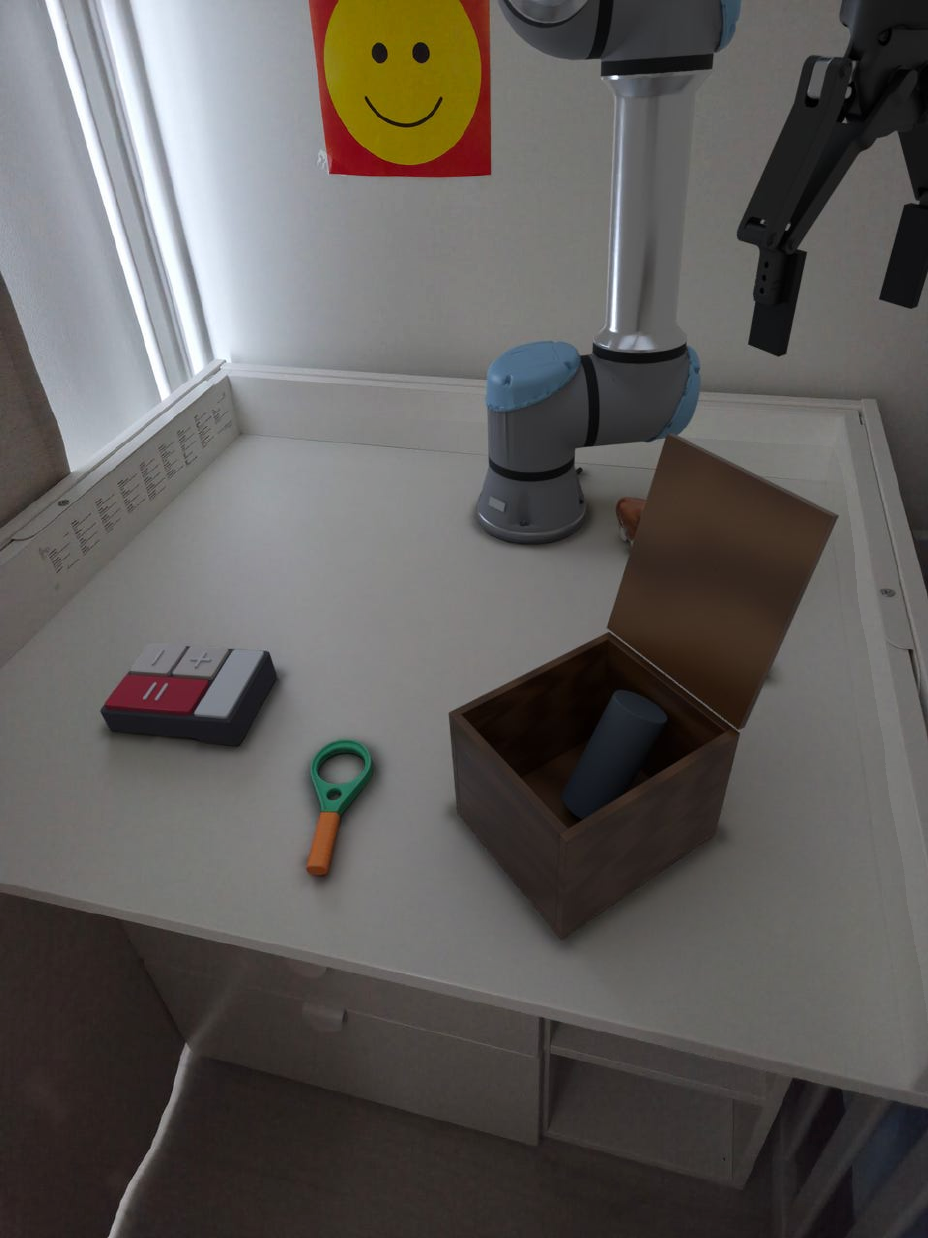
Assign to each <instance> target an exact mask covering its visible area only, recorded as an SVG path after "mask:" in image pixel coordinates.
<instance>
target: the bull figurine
mask: <svg viewBox="0 0 928 1238" xmlns="http://www.w3.org/2000/svg"><path fill="white" fill-rule="evenodd" d="M645 502H646V499H643V498H638V497H629V496H624V497H621V498H620V499H618V501H617V502H616V505H615V516H616V520H617V523H618V528H619V535H620V538H621V539H622V541H624V542H626V541H628V542H630V546H631V548H632V544H633V541H634V538H635V535H636V531H637V528H638V525H639V522H640V519H641V515H642V512H643V509H644V506H645Z"/></svg>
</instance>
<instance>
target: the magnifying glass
mask: <svg viewBox="0 0 928 1238" xmlns="http://www.w3.org/2000/svg"><path fill="white" fill-rule="evenodd" d="M343 753H350V754H355V755H357V756H359V757H361V758H362V759H363V761H364V769H363V771H362V772H361V773H360V775H358V776H357V777H356V778H355V779H353V780H351V781H348V782H345V783H330V782H327V781H325V780H323V779H322V778H321V777H320V775H319V770H320V767H321V765H322V764H323V763H324V762H325V761H326V760H327V759H329V758H330V757H332V756H334V755H337V754H343ZM373 771H374V763H373V759H372V756H371V753H370V751H369V749H368V748H367V746H365V744H363V743H362V742H360V741H358V740H355V739H351V738H350V739H349V738H343V739H337V740H333V741H331V742H328V743H327V744H325V745H323V746H322V747H321V748H320V749H319V750H318V751H317V752H316V754H314V756H313V758H312V759H311V763H310V767H309V774H310V778H311V781H312V785H313V788H314V791H315V793H316V796H317V800H318V803H319V805H320V814H319V817H318V820H317V824H316V829H315V833H314V837H313V840H312V844H311V848H310V851H309V856H308V860H307V863H306V867H305V870H306V872H307V873H308V874H309V875H312V876H314V875H315V876H325V875H326V874H327V873H328V871H329V868H330V865H331V864H330V863H331V859H332V854H333V850H334V847H335V843H336V837H337V833H338V830H339V824H340V821H341V819H340V818H341V816H342V815H343V813H344V812H345V811H346V810H347V808H348V807H349V806H350V805H351V803H352V802H353V801H354V800H355V798H356V797H357V796H358V795H359V794H360V793H361V791H363V789H364V788H365V787H366V786H367V784H368V783H369V782H370V780H371V778H372V776H373ZM336 794H338V795H341V796H340V797H338V798H337V799H333V800H332V799H329V798H330V797H331V796H333V795H336Z"/></svg>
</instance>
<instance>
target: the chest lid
mask: <svg viewBox="0 0 928 1238" xmlns="http://www.w3.org/2000/svg"><path fill="white" fill-rule="evenodd" d="M645 500H646V502H645V506H644V509H643V512H642V515H641V519H640V522H639V525H638V528H637V531H636V535H635V538H634V541H633V544H632V547H631V548H630V551H629V554H628V557H627V561H626V564H625V568H624V570H623V573H622V577H621V580H620V584H619V586H618V590H617V593H616V596H615V599H614V603H613V606H612V608H611V609H612V610H611V612H610V616H609V619H608V622H607V625H606V629H607V630H608V631H609V632H610V633H612V634H613V635H614V636H616V637H617V638H618V639H620V640H621V641H622V642H623V643H625V644H626V645H627V646H629V647H630V648H631V649H632V650H634V651H635V652H636V653H638V654H639V655H640V656H641V657H643V658H644V659H645V660H647V661H648V662H649V663H650V664H652V665H653V666H654V667H656V668H657V669H658V670H659V671H661V672H662V673H663V674H665V675H666V676H667V677H668V678H670V679H671V680H672V681H674V682H675V683H676V684H677V685H679V686H680V687H681V688H683V689H684V690H685V691H687V692H688V693H689V694H690V695H692V696H693V697H694V698H696V699H697V700H698V701H699V702H701V703H702V704H703V705H705V706H706V707H707V708H708V709H710V710H711V711H712V712H714V713H715V714H716V715H717V716H719V717H720V718H721V719H723V720H724V721H725V722H726V723H728V724H729V725H730V726H732V727H733V728H734V729H736V730H737V731H739V730H742V729H745V728H746V726H747V722H748V721H749V719H750V716H751V714H752V712H753V710H754V707H755V705H756V703H757V701H758V699H759V696H760V694H761V692H762V689H763V687H764V685H765V682H766V680H767V679H768V676H769V674H770V672H771V669H772V668H773V665H774V662H775V660H776V658H777V655H778V654H779V652H780V648H781V646H782V645H783V642H784V640H785V638H786V637H787V636H786V635H787V633H788V631H789V629H790V627H791V624H792V622H793V620H794V618H795V615H796V613H797V611H798V609H799V606H800V604H801V602H802V599H803V597H804V595H805V592H806V591H807V588H808V586H809V584H810V582H811V579H812V578H813V575H814V572H815V571H816V568H817V566H818V564H819V561H820V559H821V557H822V554H823V552H824V550H825V548H826V546H827V544H828V541H829V538H830V537H831V534H832V532H833V530H834V528H835V526H836V524H837V521H838V519H839V516H840V515H839V514H838V513H835V512H833V511H831V510H828V509H827V508H825V507H823V506H821V505H818V504H817V503H815V502H813V501H811V500H808V499H806V498H805V497H802V496H800V495H798V494H797V493H795V492H792V491H791V490H788V489H787V488H785V487H782V486H780V485H778V484H776V483H775V482H773V481H770V480H768V479H766V478H764V477H762V476H760V475H758V474H756V473H754V472H752V471H750V470H749V469H746V468H744V467H742V466H740V465H738V464H736V463H735V462H732V461H730V460H728V459H726V458H723V457H722V456H720V455H718V454H716V453H714V452H712V451H710V450H708V449H706V448H704V447H701V446H700V445H698V444H696V443H693V442H692V441H689V440H688V439H685V438H684V437H682V436H679V435H675V434H673V433H672V434H667V435H666V438H665V439H664V442H663V445H662V448H661V451H660V453H659V457H658V461H657V464H656V467H655V470H654V474H653V476H652V480H651V484H650V487H649V490H648V493H647V497H646V499H645Z"/></svg>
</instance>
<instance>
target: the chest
mask: <svg viewBox="0 0 928 1238" xmlns="http://www.w3.org/2000/svg"><path fill="white" fill-rule="evenodd" d="M617 690H626V691H630V692H633V693H636V694H639V695H641V696H643V697H645V698H647V699H648V700H650V701H652V702H653V703H655V704H656V705H657V706H658V707H660V708H661V709H662V710H663V711H664V713H665V714H666V716H667V722H666V724H665V726H664V727H663V729H662V731H661V733H660V735H659V736H658V738H657V740H656V742H655V744H654V745H653V747H652V749H651V751H650V753H649V754H648V756H647V758H646V760H645V762H644V763H643V765H642V767H641V769H640V771H639V772H638V774H637V776H636V778H635V780H634V781H633V783H632V785H631V787H630V789H629V790H628V792H627V793H626V794H624V795H622V796H621V797H619V798H617V799H616V800H614V801H613V802H611V803H609V804H608V805H606V806H605V807H603V808H601V809H600V810H598V811H596V812H595V813H593V814H592V815H590V816H588V817H587V818H585V819H583V820H582V819H581V818H579V817H577V816H576V815H575V814H573V813H572V812H571V811H570V810H569V809H568V808H567V807H566V806H565V804H564V803H563V801H562V798H561V794H562V792H563V790H564V788H565V786H566V784H567V782H568V780H569V778H570V776H571V774H572V773H573V771H574V769H575V767H576V765H577V763H578V761H579V759H580V757H581V755H582V753H583V751H584V750H585V748H586V746H587V744H588V742H589V740H590V738H591V736H592V734H593V732H594V730H595V728H596V727H597V725H598V723H599V721H600V719H601V717H602V715H603V713H604V711H605V709H606V707H607V705H608V704H609V702H610V700H611V698H612V696H613V694H614V692H615V691H617ZM448 722H449V723H448V725H449V734H450V747H451V760H452V771H453V779H454V780H453V782H454V792H455V794H454V795H455V806H456V813H457V814H458V816H459V817H460V818H461V819H462V820H463V821H464V822H465V823H466V825H467V826H468V828H469V829H470V831H472V833H474V834H475V836H476V837H477V838H478V840H479V841H480V842H481V843H482V845H483V846H484V847H485V848H486V850H488V852H489V853H490V854H491V856H492V857H493V858H494V859H495V861H496V862H497V863H498V864H499V866H500V867H501V868H502V870H504V871H505V873H506V875H508V876H509V878H510V879H511V880H512V881H513V882H514V884H515V885H516V886H517V888H518V889H519V890H520V891H521V892H522V893H523V895H524V896H525V897H526V898H527V900H528V901H529V902H530V903H531V905H532V906H533V907H534V908H535V909H536V911H537V912H538V913H539V914H540V916H541V918H543V919H544V920H545V922H546V923H547V924H548V926H549V927H550V928H551V930H553V932H554V933H555V935H557V936H558V938H559V939H560V940H563V939H565V938H566V937H568V936H569V935H570V934H572V933H573V932H575V931H576V930H578V929H579V928H581V927H582V926H584V925H586V924H587V923H588V922H589V921H591V920H592V919H595V917H597V916H598V915H600V914H601V913H603V912H604V911H606V910H607V909H608V908H610V907H612V906H613V905H614V904H616V903H618V902H619V901H620V900H622V899H623V898H624V897H627V896H628V895H629V894H631V893H632V892H633V891H635V890H636V889H638V888H639V887H641V886H642V885H644V884H645V883H646V882H649V880H651V879H652V878H654V877H655V876H657V875H658V874H660V873H661V872H662V871H665V870H666V869H668V867H670V866H672V865H673V864H674V863H676V862H677V861H679V860H680V859H681V858H683V857H685V856H686V855H687V854H689V853H690V852H692V851H693V850H695V849H696V848H698V847H700V846H701V845H703V843H705V842H706V841H708V840H709V839H711V838H713V837H714V836H716V833H717V829H718V826H719V822H720V817H721V813H722V810H723V809H722V808H723V805H724V801H725V797H726V794H727V789H728V786H729V781H730V777H731V773H732V769H733V765H734V760H735V757H736V751H737V749H738V745H739V744H738V743H739V740H740V737H741V733H740V731H739V730H738V729H736V728H735V727H733V725H731V724H730V723H729V722H727V721H726V720H725V719H724V718H722V717H721V716H720V715H718V714H717V713H716V712H714V711H713V710H712V709H711V708H709V707H708V706H707V705H705V704H704V703H703V702H702V701H700V700H699V699H698V698H696V697H695V696H694V695H693V694H691V693H690V692H689V691H687V690H686V689H685V688H684V687H682V686H681V685H680V684H678V683H677V682H676V681H674V680H673V679H672V678H671V677H669V676H668V675H667V674H665V673H664V672H663V671H662V670H660V669H659V668H658V667H656V666H655V665H654V664H653V663H651V662H650V661H649V660H647V659H646V658H645V657H643V656H642V655H641V654H640V653H638V652H637V651H636V650H634V649H633V648H632V647H631V646H629V645H628V644H627V643H625V642H624V641H623V640H622V639H620V638H619V637H618V636H616V635H615V634H614V633H612V632H611V631H607V632H605V633H603V634H600V635H599V636H597V637H596V638H593V639H591V640H590V641H589V640H588V642H585V643H584V644H582V645H580V646H578V647H575V648H573V649H572V650H570V651H567V652H566V653H564V654H562V655H560V656H557V657H555V658H554V659H552V660H550V661H548V662H546V663H544V664H542V665H540V666H538V667H536V668H534V669H532V670H530V671H528V672H526V673H524V674H522V675H520V676H518V677H516V678H514V679H512V680H510V681H508V682H506V683H504V684H502V685H500V686H499V687H496V688H493V690H491V691H489V692H486V693H484V694H483V695H481V696H478V697H477V698H475V699H472V700H471V701H469V702H467V703H464V704H462V705H461V706H458V707H457V708H455V709H453V710H450V711H449V712H448Z"/></svg>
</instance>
